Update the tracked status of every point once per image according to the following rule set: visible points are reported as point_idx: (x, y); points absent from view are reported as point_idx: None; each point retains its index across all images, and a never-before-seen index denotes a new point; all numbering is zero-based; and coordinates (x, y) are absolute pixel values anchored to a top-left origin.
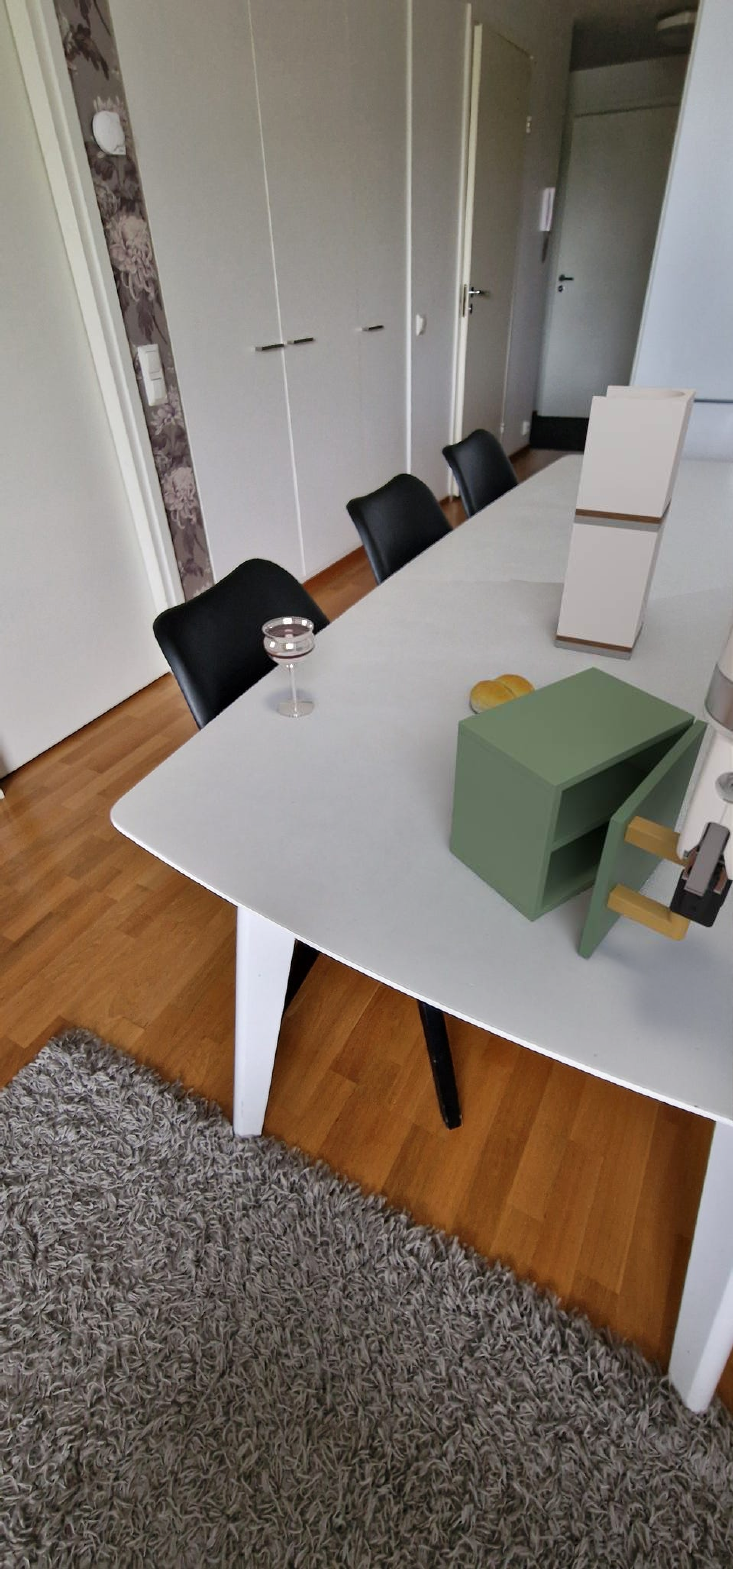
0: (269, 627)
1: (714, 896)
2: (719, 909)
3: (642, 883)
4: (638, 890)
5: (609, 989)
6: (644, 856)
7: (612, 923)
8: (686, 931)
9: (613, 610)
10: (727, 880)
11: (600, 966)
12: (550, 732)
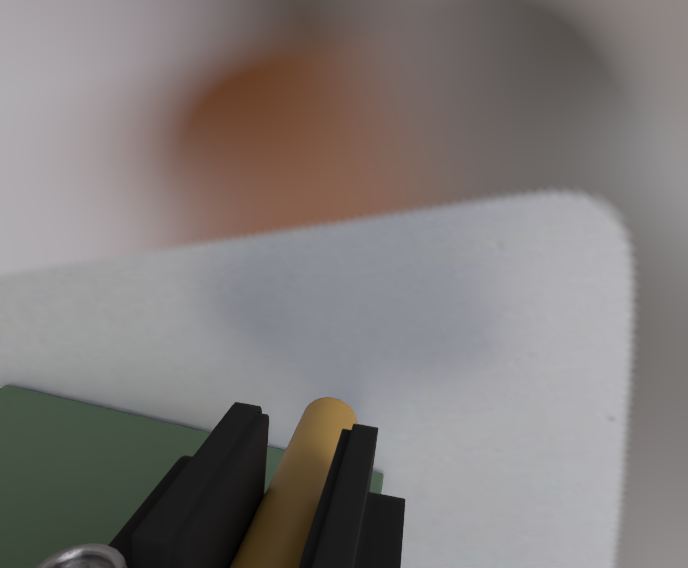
0: None
1: (353, 564)
2: (347, 471)
3: (130, 420)
4: (150, 419)
5: (434, 422)
6: (102, 516)
7: (274, 456)
8: (331, 412)
9: None
10: (209, 515)
11: (385, 447)
12: None
